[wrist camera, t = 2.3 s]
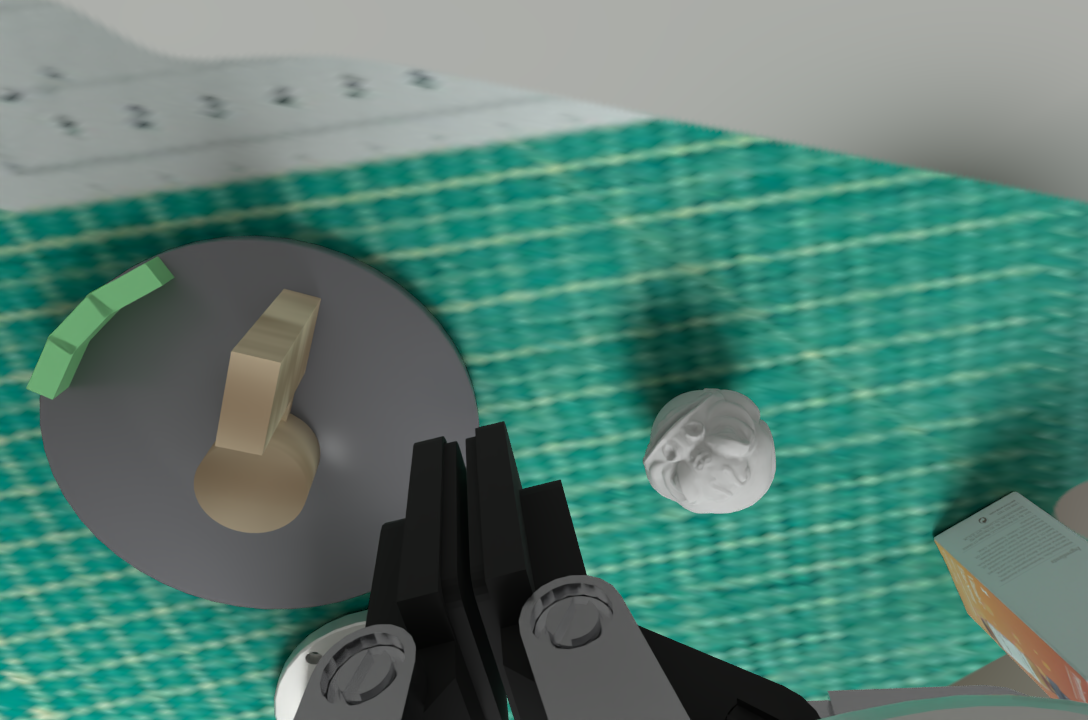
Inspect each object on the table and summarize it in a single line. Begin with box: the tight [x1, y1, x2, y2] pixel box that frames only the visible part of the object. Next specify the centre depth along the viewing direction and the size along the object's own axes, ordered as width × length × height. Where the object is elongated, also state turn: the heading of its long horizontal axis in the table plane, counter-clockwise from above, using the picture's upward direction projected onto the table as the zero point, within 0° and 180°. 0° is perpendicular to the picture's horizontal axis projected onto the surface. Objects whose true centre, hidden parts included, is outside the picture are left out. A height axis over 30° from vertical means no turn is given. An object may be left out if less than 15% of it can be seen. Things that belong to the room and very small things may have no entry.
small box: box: [934, 492, 1088, 703], centre depth 35 cm, size 8×6×10 cm
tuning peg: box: [194, 289, 321, 533], centre depth 25 cm, size 10×4×7 cm, turn 162°
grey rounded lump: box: [643, 388, 776, 513], centre depth 30 cm, size 6×7×7 cm
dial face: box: [26, 236, 479, 609], centre depth 30 cm, size 19×19×2 cm
